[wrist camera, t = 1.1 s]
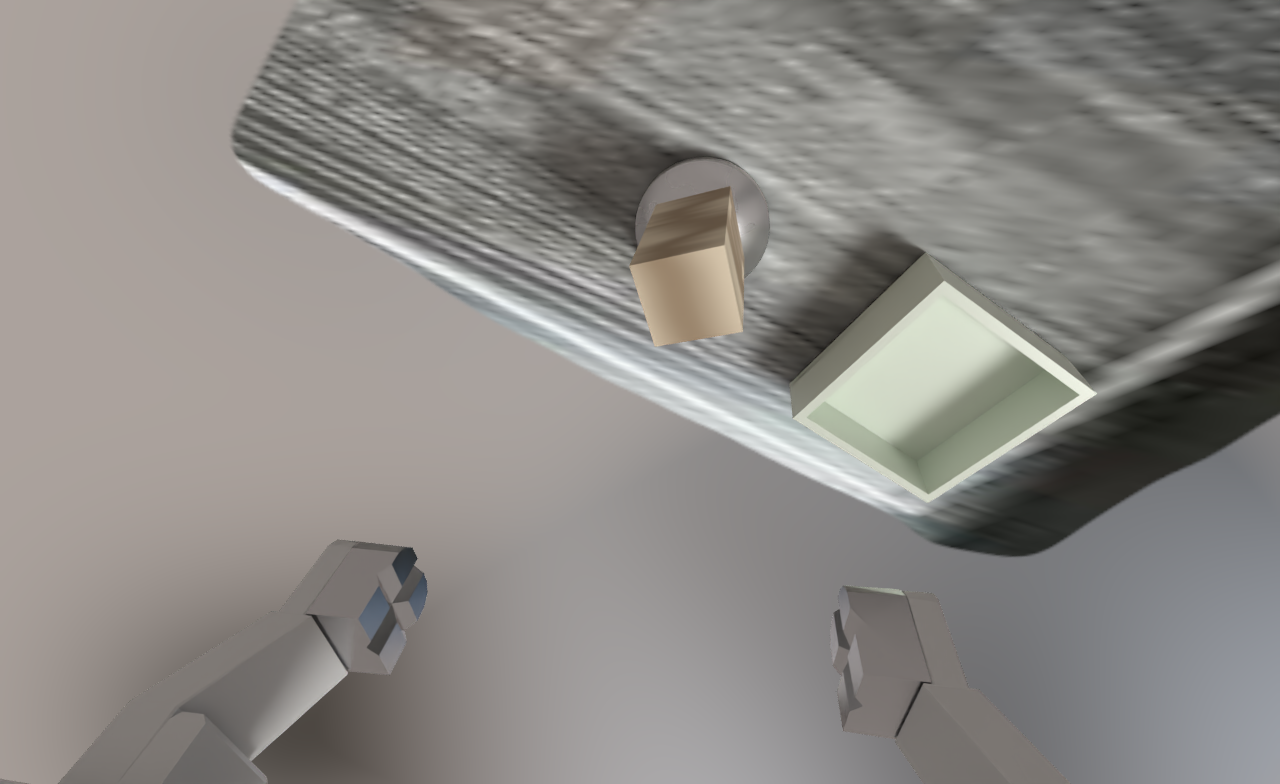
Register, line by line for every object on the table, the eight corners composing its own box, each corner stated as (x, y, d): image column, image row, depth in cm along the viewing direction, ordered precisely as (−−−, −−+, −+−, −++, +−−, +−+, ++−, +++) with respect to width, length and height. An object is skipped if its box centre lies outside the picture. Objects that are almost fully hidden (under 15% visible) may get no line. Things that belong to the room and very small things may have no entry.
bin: (925, 251, 33) (944, 280, 30) (1065, 356, 35) (1097, 393, 32) (789, 383, 40) (792, 418, 36) (914, 463, 42) (928, 503, 39)
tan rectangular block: (730, 186, 31) (724, 245, 24) (744, 258, 34) (742, 331, 27) (656, 204, 33) (629, 265, 26) (674, 272, 35) (654, 346, 28)
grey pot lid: (757, 140, 31) (757, 159, 27) (778, 272, 35) (781, 303, 32) (621, 176, 33) (607, 198, 30) (656, 296, 37) (647, 327, 34)
